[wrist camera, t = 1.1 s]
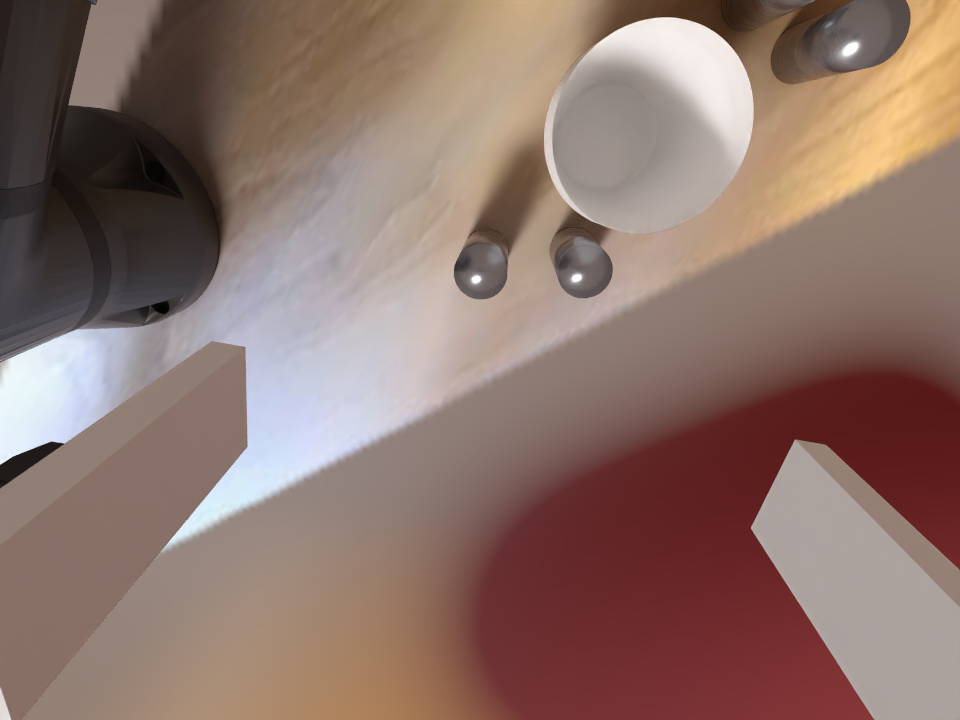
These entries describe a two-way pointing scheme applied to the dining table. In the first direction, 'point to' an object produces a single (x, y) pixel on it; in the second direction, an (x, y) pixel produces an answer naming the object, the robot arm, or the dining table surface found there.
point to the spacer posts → (795, 59)
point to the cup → (649, 125)
